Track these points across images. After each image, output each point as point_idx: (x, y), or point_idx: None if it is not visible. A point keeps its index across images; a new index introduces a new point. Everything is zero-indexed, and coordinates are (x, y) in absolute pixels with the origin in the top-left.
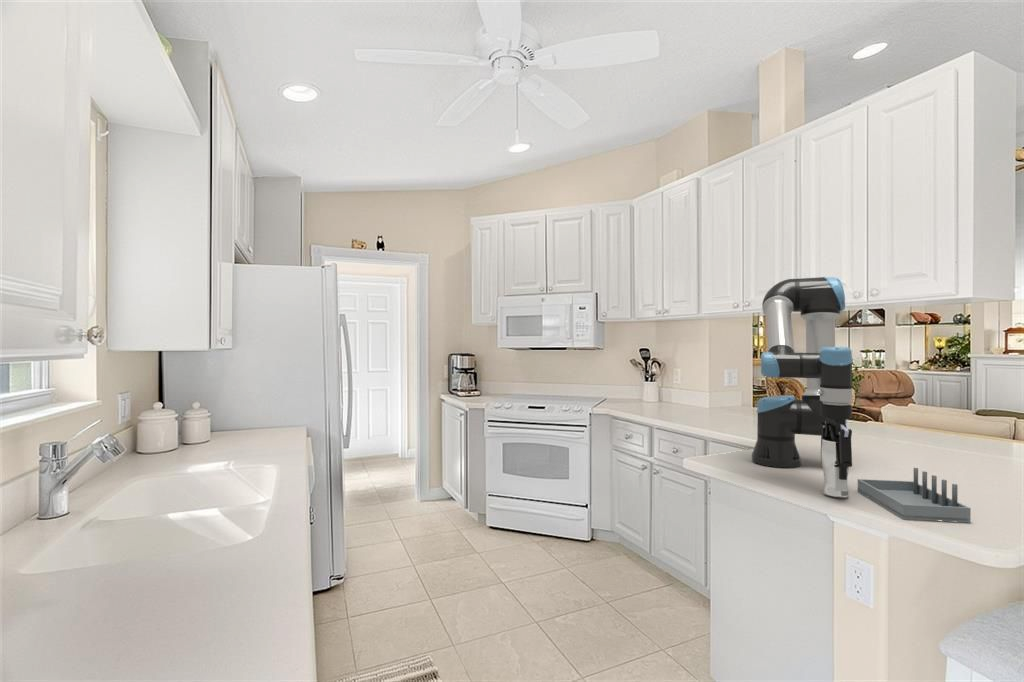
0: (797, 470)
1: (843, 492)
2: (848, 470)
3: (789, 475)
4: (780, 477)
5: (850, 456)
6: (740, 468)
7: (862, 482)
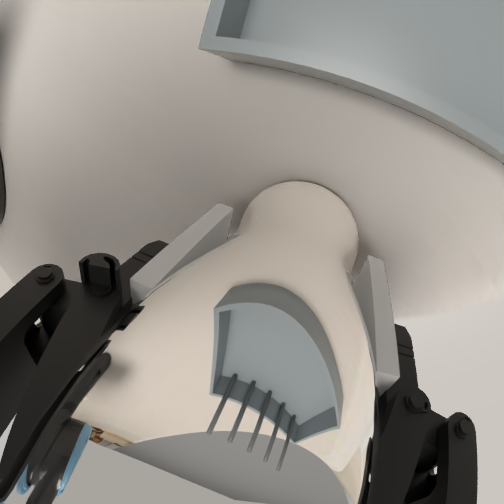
0: (10, 149)
1: (355, 254)
2: (356, 298)
3: (48, 209)
4: (71, 253)
5: (468, 500)
6: None
7: (268, 57)
